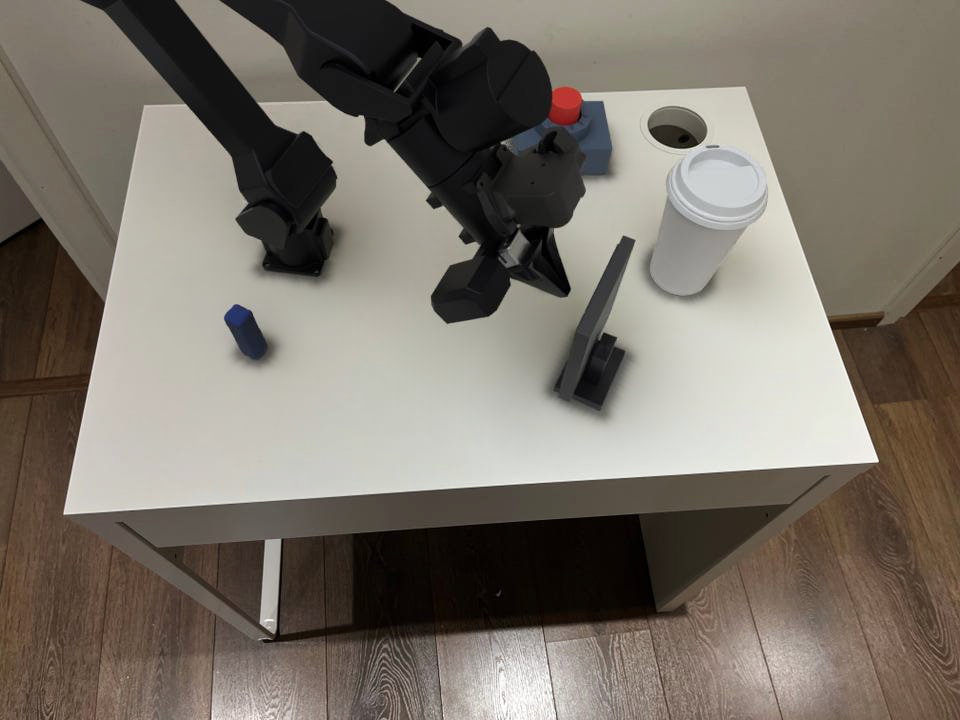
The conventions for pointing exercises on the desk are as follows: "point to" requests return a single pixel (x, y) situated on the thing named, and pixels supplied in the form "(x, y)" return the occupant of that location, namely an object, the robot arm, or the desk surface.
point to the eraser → (246, 331)
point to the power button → (565, 106)
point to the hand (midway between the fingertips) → (565, 294)
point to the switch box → (578, 137)
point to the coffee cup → (705, 215)
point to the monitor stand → (597, 373)
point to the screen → (595, 317)
